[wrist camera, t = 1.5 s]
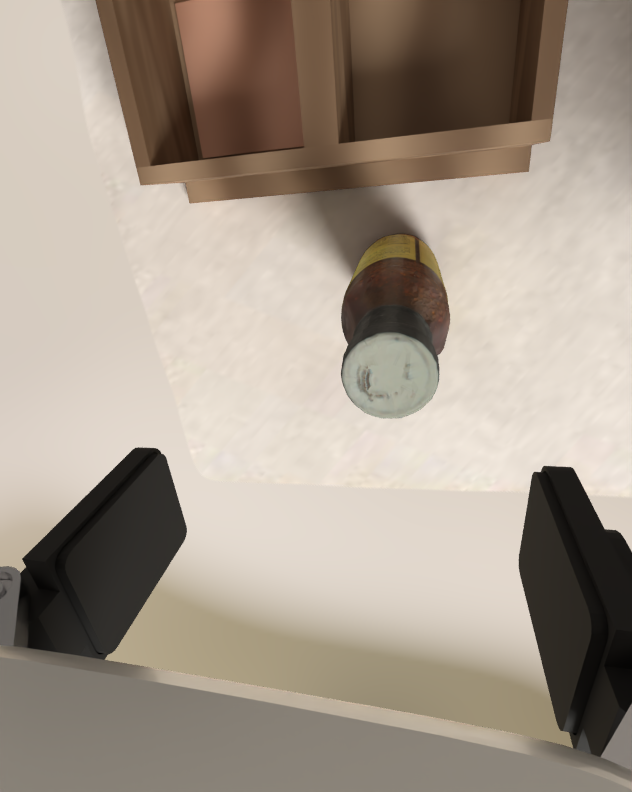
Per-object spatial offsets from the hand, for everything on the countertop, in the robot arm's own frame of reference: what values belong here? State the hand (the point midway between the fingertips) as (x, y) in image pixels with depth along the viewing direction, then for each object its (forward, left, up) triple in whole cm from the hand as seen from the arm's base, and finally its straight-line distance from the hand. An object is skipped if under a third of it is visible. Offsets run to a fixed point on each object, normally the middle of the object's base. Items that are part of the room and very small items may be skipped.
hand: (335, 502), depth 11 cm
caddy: (+4, -14, -28) cm, 31 cm away
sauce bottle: (0, 0, -28) cm, 28 cm away
